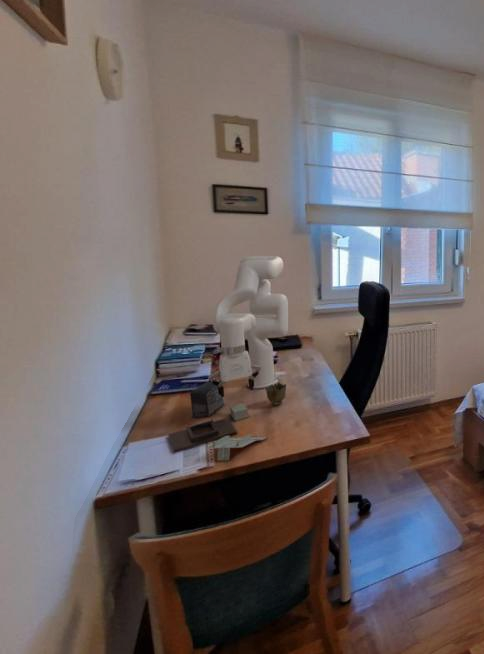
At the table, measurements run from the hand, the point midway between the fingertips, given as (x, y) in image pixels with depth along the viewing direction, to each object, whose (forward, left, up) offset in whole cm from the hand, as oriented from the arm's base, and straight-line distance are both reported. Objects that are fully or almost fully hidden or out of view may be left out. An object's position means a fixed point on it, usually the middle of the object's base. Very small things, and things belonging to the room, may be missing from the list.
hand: (236, 392), depth 160 cm
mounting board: (+13, +8, -10) cm, 18 cm away
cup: (-14, -1, -10) cm, 18 cm away
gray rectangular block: (0, 0, -10) cm, 10 cm away
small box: (+8, -13, -10) cm, 19 cm away
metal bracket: (+7, +26, -10) cm, 28 cm away
